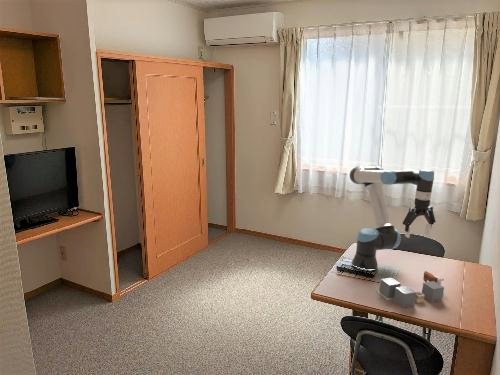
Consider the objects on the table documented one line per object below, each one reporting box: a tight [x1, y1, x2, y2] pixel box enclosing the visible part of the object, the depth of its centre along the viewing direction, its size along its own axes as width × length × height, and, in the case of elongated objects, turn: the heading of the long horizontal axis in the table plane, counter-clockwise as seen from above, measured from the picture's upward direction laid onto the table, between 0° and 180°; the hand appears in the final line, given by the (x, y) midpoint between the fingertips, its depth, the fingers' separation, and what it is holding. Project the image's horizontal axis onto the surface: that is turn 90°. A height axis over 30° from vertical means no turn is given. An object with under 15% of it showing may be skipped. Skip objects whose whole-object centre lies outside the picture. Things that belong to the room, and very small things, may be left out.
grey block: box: [393, 285, 417, 309], centre depth 195 cm, size 7×7×8 cm
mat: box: [376, 290, 394, 301], centre depth 204 cm, size 9×9×1 cm
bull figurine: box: [423, 270, 444, 286], centre depth 212 cm, size 4×13×8 cm, turn 15°
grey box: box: [378, 277, 402, 298], centre depth 203 cm, size 7×7×8 cm
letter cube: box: [415, 291, 425, 304], centre depth 199 cm, size 4×4×4 cm
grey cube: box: [421, 281, 445, 303], centre depth 201 cm, size 7×7×8 cm
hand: (417, 235), depth 210 cm, fingers open, 13 cm apart
